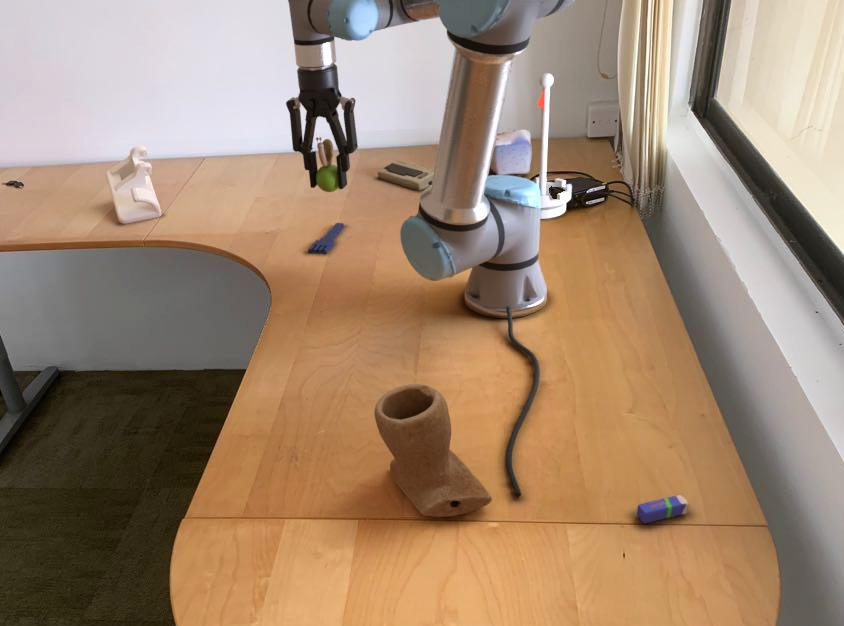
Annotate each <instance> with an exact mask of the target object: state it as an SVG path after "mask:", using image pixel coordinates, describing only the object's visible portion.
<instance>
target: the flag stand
mask: <svg viewBox="0 0 844 626" xmlns="http://www.w3.org/2000/svg"><path fill="white" fill-rule="evenodd" d="M554 80H555V79H554V76H553V74H551V73H549V72H545V73H543V74H542V75H541V76H540V77H539V84H540V86H541V87H542V93H541V96H540V98H539V100H538V102H537V104H536V106H537V107H539V108H540V109H541V123H540V149H539V151H540V152H539V174H538V175H539V176H538V177H535V181H533V182H534V183H536V184H537V185H538V187H539V189H540V202H541V205H542V207H541V216H540V220H544V219H553V218H556V217H559V216H561V215H563V214H565V212H567V203H568V202H569V201H571V199H572V193H573V191H572V190H573V185H572V183H568V184H567V180H566V179H563V178H559V177H557V178H555V179H554V181H547V180H548V177H547V171H548V170H547V169H548V167H547V166H548V148H549V147H548V146H549V145H548V143H549V122H550V121H549V119H550V98H551V97H550V96H551V87H552V86H553V84H554V82H555V81H554ZM551 186H552V187H561V188H563V189H564V190H565V191H563V192H561V193H558V194H557V199H553V198H552V196H551V195H550V193H549V188H550V187H551Z"/></svg>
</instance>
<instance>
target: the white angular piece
mask: <svg viewBox="0 0 844 626" xmlns="http://www.w3.org/2000/svg"><path fill="white" fill-rule="evenodd" d="M147 156H148V150H147V147H145V146H144V145H137V146H134V147H133V148H131V150H130V152H129V155H128V156H127V157H126V158H124V159H123V160H121V161H120V162H118V163H117V164H116V165H113V166H112V167H111V168H110V169H108V170H107V171H106V172H105V177H106V181H107V184H108V187H109V192H110V195H111V198H112V199H111V200H112V202H113V206H114V209H115V212H116V213H115V214H116V216H117V220H118V222H119V223H120V224H124V225H125V224H126V225H127V224H131V223H135V222H140V221H146V220H150V219H156V218H160V217H162V216H163V215H162V210H161V206H160V203H159V200H158V196H157V194H156V192H155V189H154V185H153V183H152V179H151V176H150V175H152V174H153V171H154V170H153V167H152V163H150V162H145V161H143V160H144V159H146V158H147ZM142 159H143V160H142Z"/></svg>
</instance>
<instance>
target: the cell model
mask: <svg viewBox="0 0 844 626" xmlns="http://www.w3.org/2000/svg"><path fill="white" fill-rule="evenodd" d="M531 140H532V134H531V132H530V131H529V130H527V129H517V130H512V131H509V132H508V131H505V132H500V133H497V137H496V142H495V146H494V151H493V155H492V160H491V164H490V170H491V171H492V172H493V173H494V174H495V175H508V176H509V175H526V174H529V173H530V170H531V163H532V159H533V149H532V143H531Z"/></svg>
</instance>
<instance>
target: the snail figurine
mask: <svg viewBox="0 0 844 626" xmlns="http://www.w3.org/2000/svg"><path fill="white" fill-rule="evenodd" d="M315 140H316V142H317V143H316V144H317V145H316V148H317V151H318V158H319V161H320V164H321V165H322V166H320V168H318V171H317V174H316V182H317V186H318V188H319V189H320V190H322V191H324V192H326V193H334V192H335V191H337V190H338V189H339V182H338V171H337V165H335V164H332V163H333V161H334V160H333V158H334V144H333V142H332V140H331V139H330V138H325V139H324V140H323V138H322V137H315ZM322 140H323V141H322ZM319 141H320V142H319Z"/></svg>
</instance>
